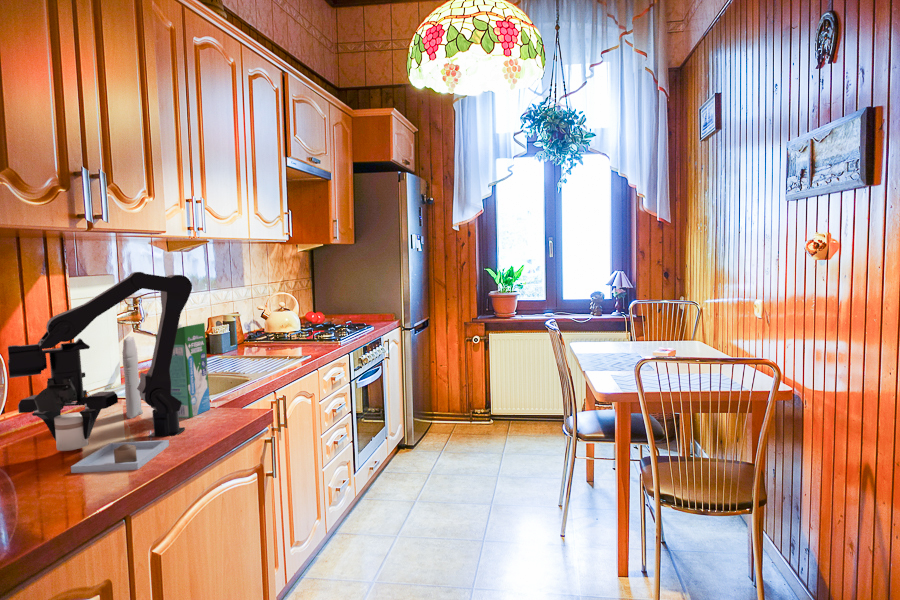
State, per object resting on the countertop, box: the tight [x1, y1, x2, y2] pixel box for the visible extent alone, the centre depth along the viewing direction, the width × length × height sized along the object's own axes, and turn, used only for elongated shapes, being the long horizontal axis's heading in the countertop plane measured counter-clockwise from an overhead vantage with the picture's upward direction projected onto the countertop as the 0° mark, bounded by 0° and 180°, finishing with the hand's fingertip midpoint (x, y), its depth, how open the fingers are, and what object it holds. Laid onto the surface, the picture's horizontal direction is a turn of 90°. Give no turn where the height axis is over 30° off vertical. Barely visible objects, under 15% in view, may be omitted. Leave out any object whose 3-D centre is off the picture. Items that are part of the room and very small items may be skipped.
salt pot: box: [114, 444, 137, 463], centre depth 121 cm, size 4×4×4 cm
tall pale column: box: [122, 336, 144, 420], centre depth 163 cm, size 11×4×22 cm, turn 16°
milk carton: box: [155, 322, 211, 419], centre depth 162 cm, size 9×9×25 cm
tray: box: [70, 439, 170, 474], centre depth 125 cm, size 15×13×2 cm
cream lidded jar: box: [54, 411, 89, 452], centre depth 131 cm, size 6×6×7 cm
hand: (72, 439), depth 131 cm, fingers closed on cream lidded jar, 6 cm apart
